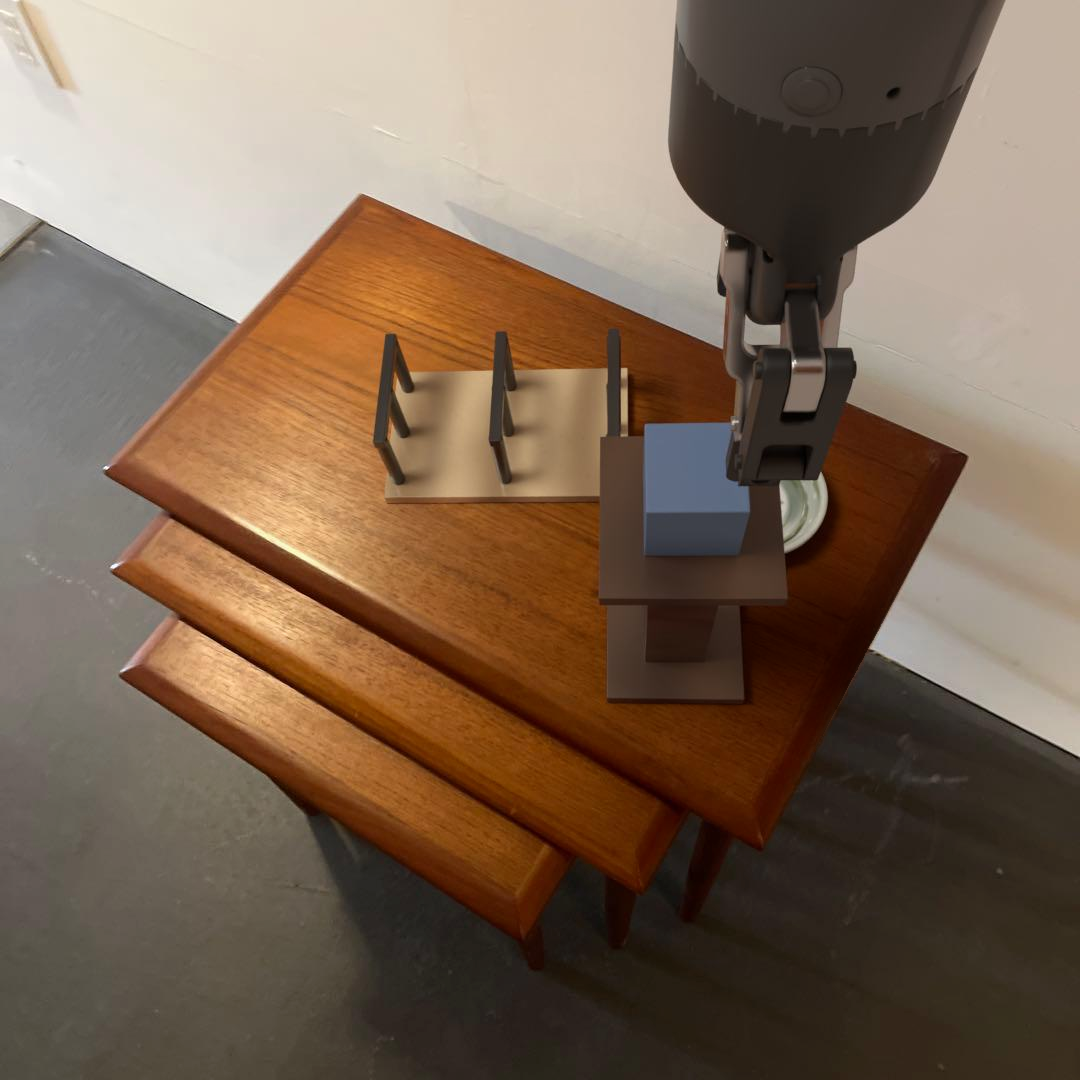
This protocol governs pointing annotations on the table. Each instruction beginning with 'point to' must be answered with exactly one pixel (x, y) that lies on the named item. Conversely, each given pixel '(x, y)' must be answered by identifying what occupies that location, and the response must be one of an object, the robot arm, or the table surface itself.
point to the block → (691, 492)
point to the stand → (678, 593)
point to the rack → (497, 429)
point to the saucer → (802, 510)
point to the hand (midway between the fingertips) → (748, 377)
